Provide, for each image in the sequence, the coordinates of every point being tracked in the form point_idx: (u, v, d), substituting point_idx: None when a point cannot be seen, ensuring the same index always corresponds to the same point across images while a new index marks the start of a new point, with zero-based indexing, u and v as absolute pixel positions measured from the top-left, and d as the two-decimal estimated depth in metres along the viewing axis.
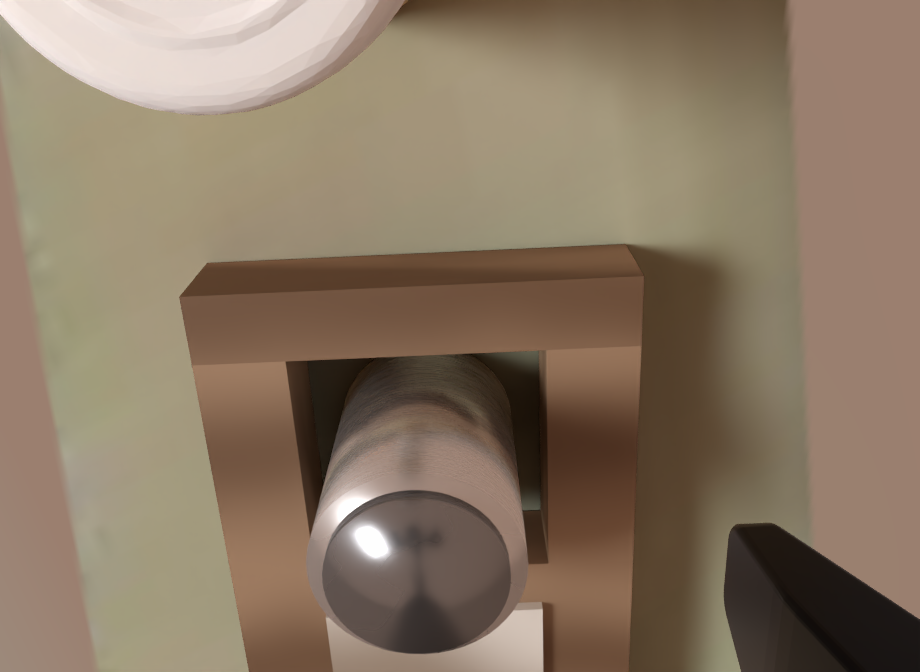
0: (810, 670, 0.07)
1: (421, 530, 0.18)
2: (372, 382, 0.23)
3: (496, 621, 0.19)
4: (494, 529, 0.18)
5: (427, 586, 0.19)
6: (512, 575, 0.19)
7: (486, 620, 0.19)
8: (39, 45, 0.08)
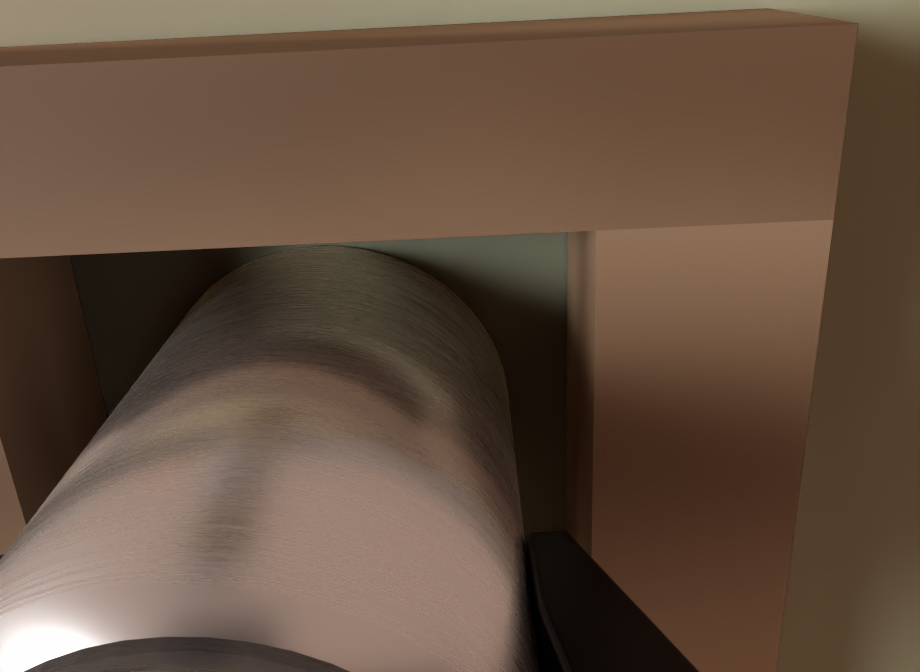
0: None
1: None
2: (192, 321, 0.10)
3: None
4: None
5: None
6: None
7: None
8: None
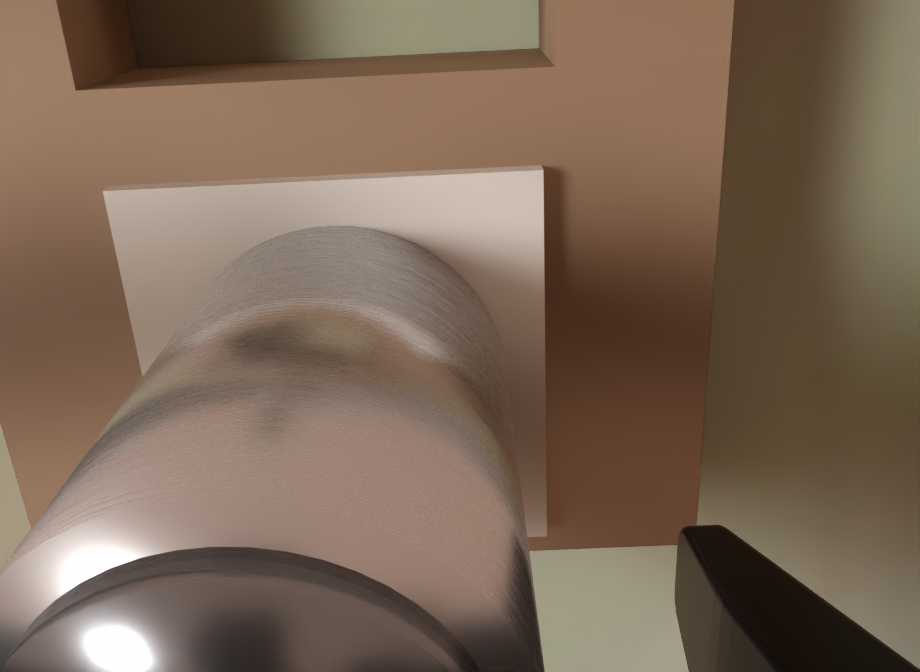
0: None
1: (240, 667, 0.06)
2: (214, 294, 0.11)
3: None
4: (458, 654, 0.06)
5: None
6: None
7: None
8: None
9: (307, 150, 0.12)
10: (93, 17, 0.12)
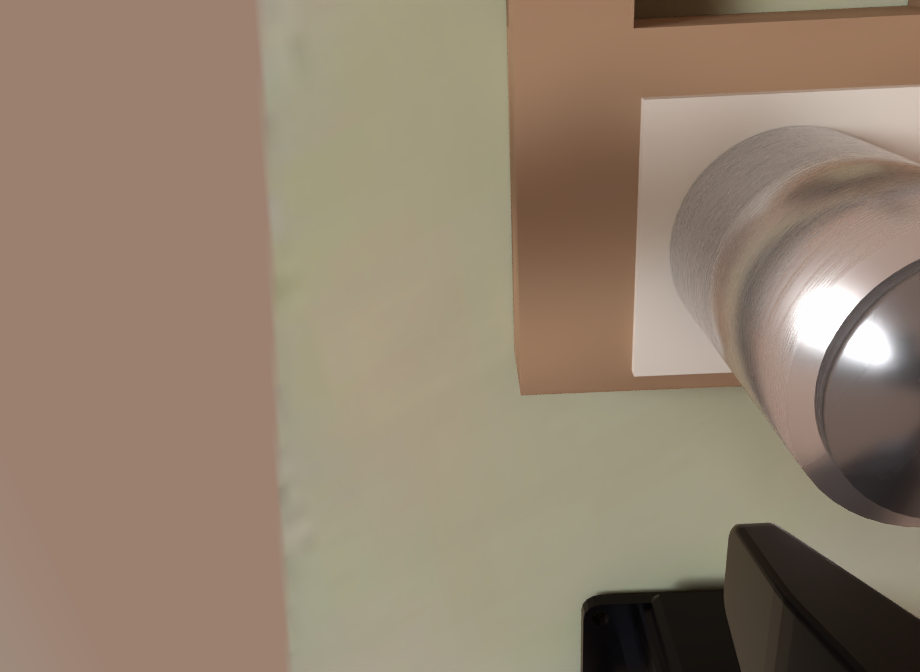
0: (810, 670, 0.07)
1: None
2: (763, 160, 0.16)
3: None
4: None
5: None
6: None
7: None
8: None
9: (785, 72, 0.17)
10: None
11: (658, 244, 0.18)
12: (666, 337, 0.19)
